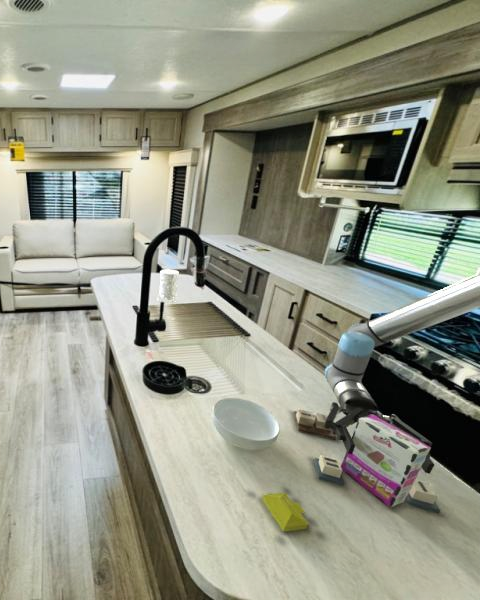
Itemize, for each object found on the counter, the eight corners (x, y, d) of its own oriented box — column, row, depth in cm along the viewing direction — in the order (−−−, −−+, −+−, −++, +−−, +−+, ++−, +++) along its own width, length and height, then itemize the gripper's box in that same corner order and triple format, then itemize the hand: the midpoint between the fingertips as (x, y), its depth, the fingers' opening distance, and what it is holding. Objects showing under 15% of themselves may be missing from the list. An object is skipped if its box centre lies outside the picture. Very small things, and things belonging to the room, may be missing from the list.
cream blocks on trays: (424, 490, 74) (430, 479, 72) (438, 513, 68) (445, 502, 67) (312, 460, 82) (316, 449, 81) (318, 479, 77) (322, 468, 75)
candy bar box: (405, 502, 71) (433, 448, 65) (390, 509, 70) (418, 454, 64) (352, 463, 81) (372, 412, 75) (338, 468, 80) (358, 417, 74)
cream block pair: (327, 421, 95) (330, 411, 94) (335, 439, 88) (339, 429, 87) (293, 413, 98) (295, 403, 97) (298, 430, 91) (301, 421, 90)
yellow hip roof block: (251, 494, 73) (254, 486, 72) (288, 490, 74) (291, 482, 73) (281, 540, 64) (284, 531, 63) (322, 535, 65) (326, 526, 64)
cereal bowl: (207, 447, 86) (210, 427, 84) (211, 409, 100) (214, 391, 98) (278, 469, 80) (284, 448, 77) (271, 425, 94) (276, 406, 91)
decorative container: (167, 295, 199) (169, 268, 193) (181, 300, 190) (183, 272, 183) (153, 298, 194) (155, 270, 188) (166, 304, 185) (169, 275, 178)
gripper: (408, 423, 85) (458, 490, 66) (299, 400, 94) (318, 454, 76) (418, 400, 82) (473, 464, 64) (305, 379, 91) (326, 430, 73)
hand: (389, 459), depth 70 cm, fingers open, 13 cm apart
